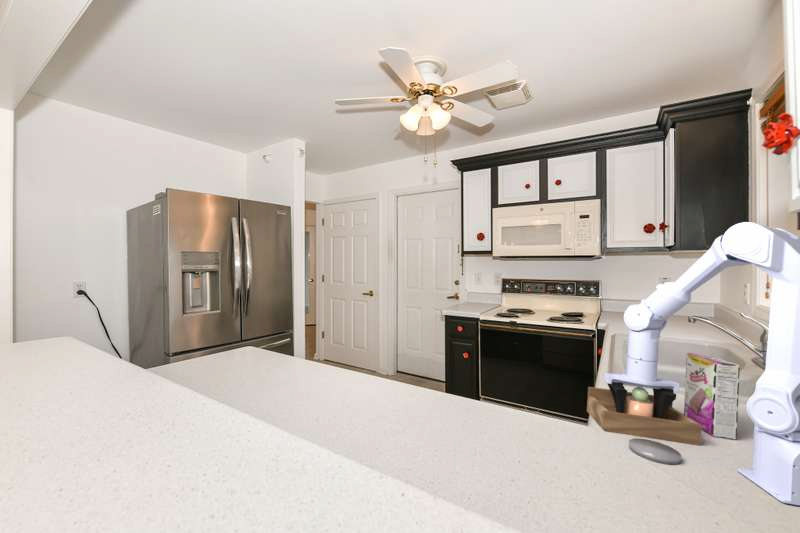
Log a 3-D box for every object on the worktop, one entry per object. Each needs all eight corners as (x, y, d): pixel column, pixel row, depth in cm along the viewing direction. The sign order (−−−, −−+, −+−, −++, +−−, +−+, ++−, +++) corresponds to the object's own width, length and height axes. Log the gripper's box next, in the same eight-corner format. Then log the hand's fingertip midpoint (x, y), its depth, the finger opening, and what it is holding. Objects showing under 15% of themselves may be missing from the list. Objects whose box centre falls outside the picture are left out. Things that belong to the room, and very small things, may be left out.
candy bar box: (681, 417, 88) (685, 352, 89) (704, 421, 87) (708, 354, 88) (711, 437, 77) (715, 361, 78) (738, 441, 76) (742, 364, 77)
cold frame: (700, 445, 72) (702, 416, 73) (604, 430, 76) (605, 402, 76) (669, 422, 84) (670, 397, 84) (586, 411, 88) (588, 386, 88)
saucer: (691, 468, 62) (691, 462, 62) (640, 459, 64) (640, 454, 64) (666, 447, 70) (667, 442, 70) (622, 440, 72) (622, 435, 72)
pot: (656, 433, 77) (658, 392, 77) (630, 429, 78) (633, 388, 78) (645, 424, 82) (647, 385, 82) (621, 420, 83) (623, 382, 83)
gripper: (668, 359, 83) (665, 417, 83) (601, 351, 86) (597, 407, 86) (686, 365, 76) (683, 429, 76) (612, 357, 79) (608, 418, 79)
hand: (638, 419), depth 80 cm, fingers open, 7 cm apart
